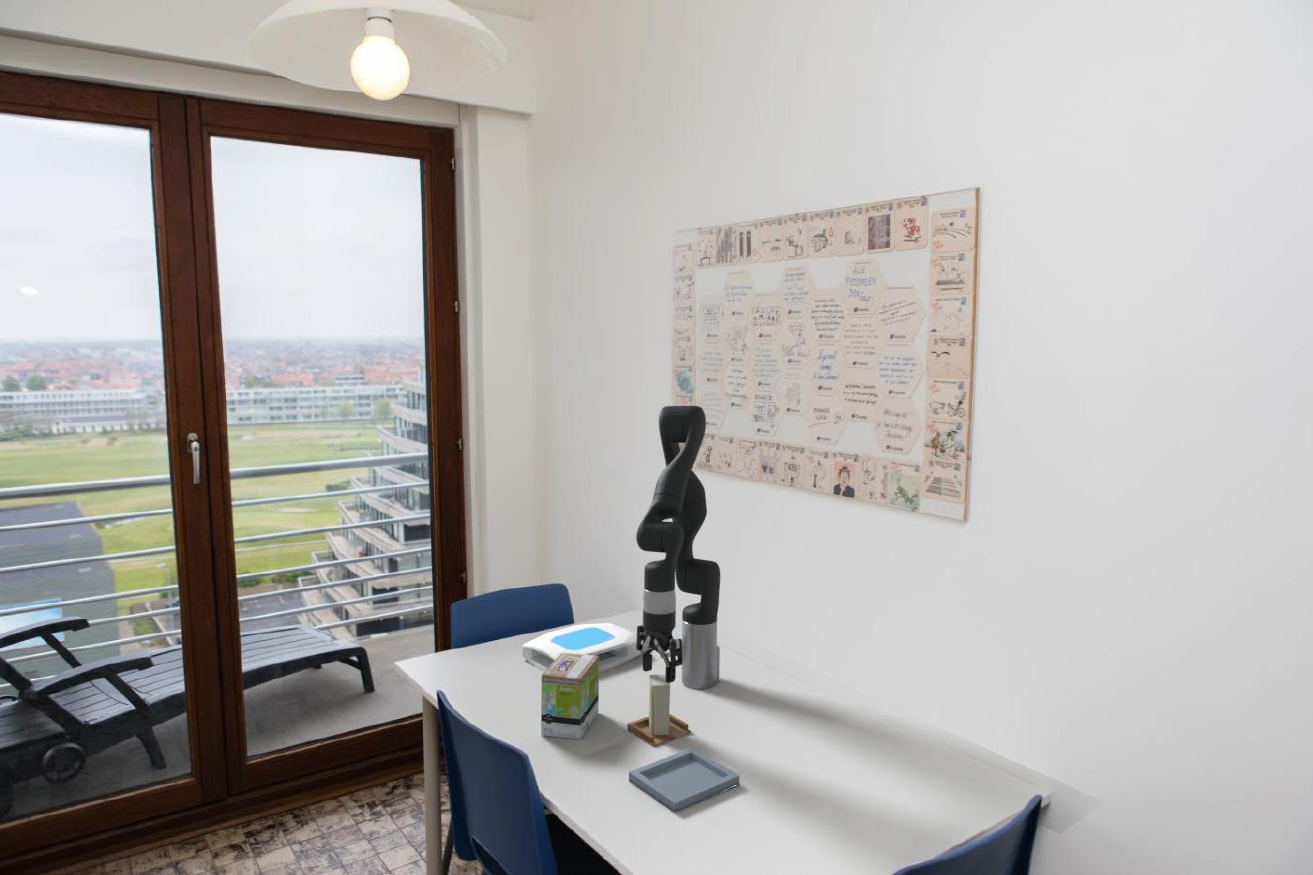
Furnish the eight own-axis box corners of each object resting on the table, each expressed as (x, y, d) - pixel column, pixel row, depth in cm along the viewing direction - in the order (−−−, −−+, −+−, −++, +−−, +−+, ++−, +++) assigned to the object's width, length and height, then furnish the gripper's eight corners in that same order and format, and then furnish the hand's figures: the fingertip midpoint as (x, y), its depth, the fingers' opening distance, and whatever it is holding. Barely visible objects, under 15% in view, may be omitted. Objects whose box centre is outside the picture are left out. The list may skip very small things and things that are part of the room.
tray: (691, 756, 185) (691, 747, 185) (739, 784, 173) (739, 775, 173) (628, 781, 175) (628, 771, 174) (674, 813, 163) (674, 803, 163)
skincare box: (648, 724, 199) (648, 674, 198) (667, 723, 200) (667, 673, 198) (650, 736, 193) (650, 685, 192) (670, 735, 194) (670, 684, 192)
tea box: (582, 740, 192) (581, 678, 190) (540, 736, 194) (539, 674, 192) (599, 712, 207) (599, 653, 205) (560, 708, 209) (559, 650, 207)
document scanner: (521, 660, 240) (521, 639, 240) (600, 638, 259) (600, 618, 258) (564, 683, 225) (563, 660, 224) (644, 657, 243) (644, 636, 242)
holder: (664, 717, 204) (664, 711, 204) (691, 733, 196) (691, 726, 196) (627, 730, 197) (627, 723, 197) (653, 746, 189) (653, 739, 189)
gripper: (692, 612, 190) (691, 682, 192) (653, 597, 201) (652, 663, 203) (665, 618, 185) (664, 690, 187) (627, 602, 196) (627, 670, 198)
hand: (658, 676), depth 195 cm, fingers open, 8 cm apart
